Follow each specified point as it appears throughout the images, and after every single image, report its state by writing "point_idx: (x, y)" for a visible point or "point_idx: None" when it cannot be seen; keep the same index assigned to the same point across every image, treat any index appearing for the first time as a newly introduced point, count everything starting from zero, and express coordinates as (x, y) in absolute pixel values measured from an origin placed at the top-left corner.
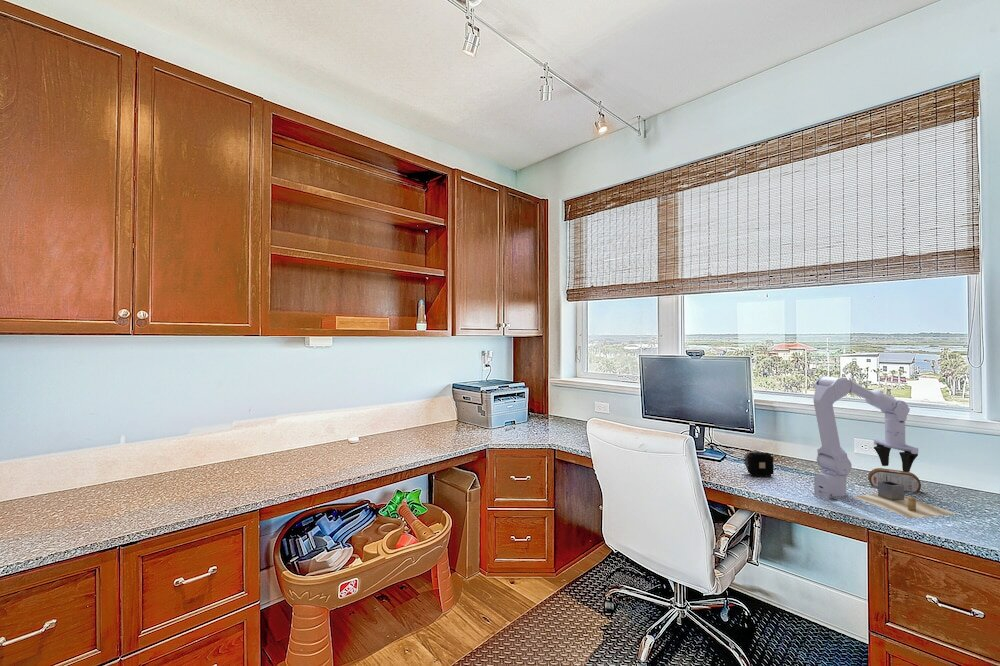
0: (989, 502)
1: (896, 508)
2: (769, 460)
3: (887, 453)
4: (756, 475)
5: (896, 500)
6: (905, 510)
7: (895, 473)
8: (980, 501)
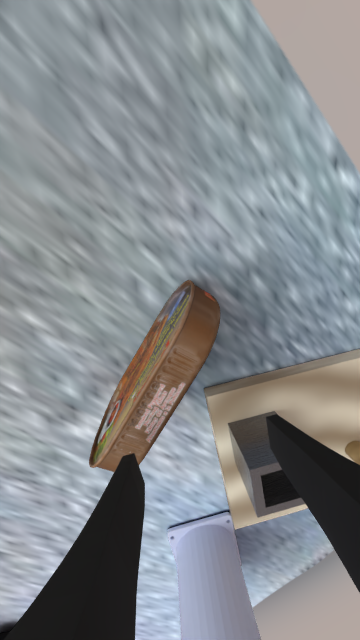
0: (274, 50)
1: None
2: None
3: (105, 597)
4: None
5: None
6: None
7: (174, 406)
8: (260, 82)
